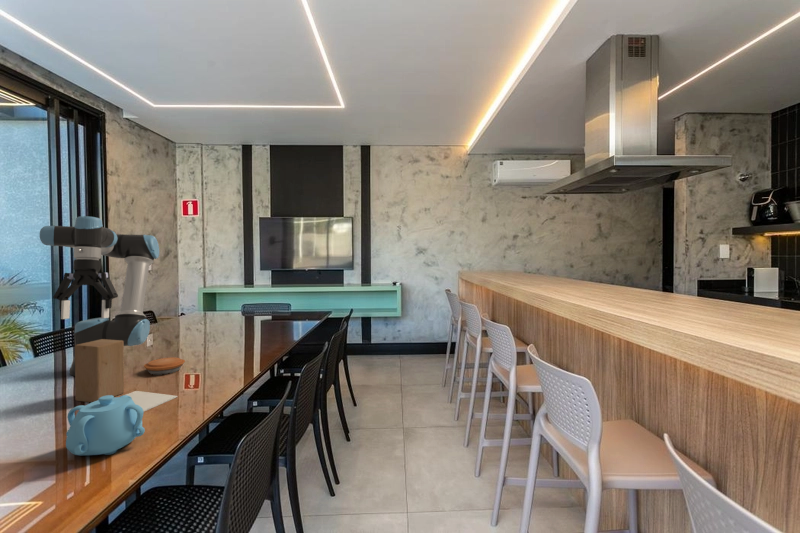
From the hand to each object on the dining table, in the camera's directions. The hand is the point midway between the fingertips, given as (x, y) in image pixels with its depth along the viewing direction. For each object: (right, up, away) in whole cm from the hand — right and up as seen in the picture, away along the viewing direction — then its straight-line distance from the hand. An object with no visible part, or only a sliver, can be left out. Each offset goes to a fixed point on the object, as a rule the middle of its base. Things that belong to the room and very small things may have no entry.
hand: (85, 318), depth 132 cm
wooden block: (+4, -29, +2) cm, 29 cm away
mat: (+20, -29, -2) cm, 36 cm away
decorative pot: (+34, -30, -32) cm, 56 cm away
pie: (+8, -29, +33) cm, 44 cm away
